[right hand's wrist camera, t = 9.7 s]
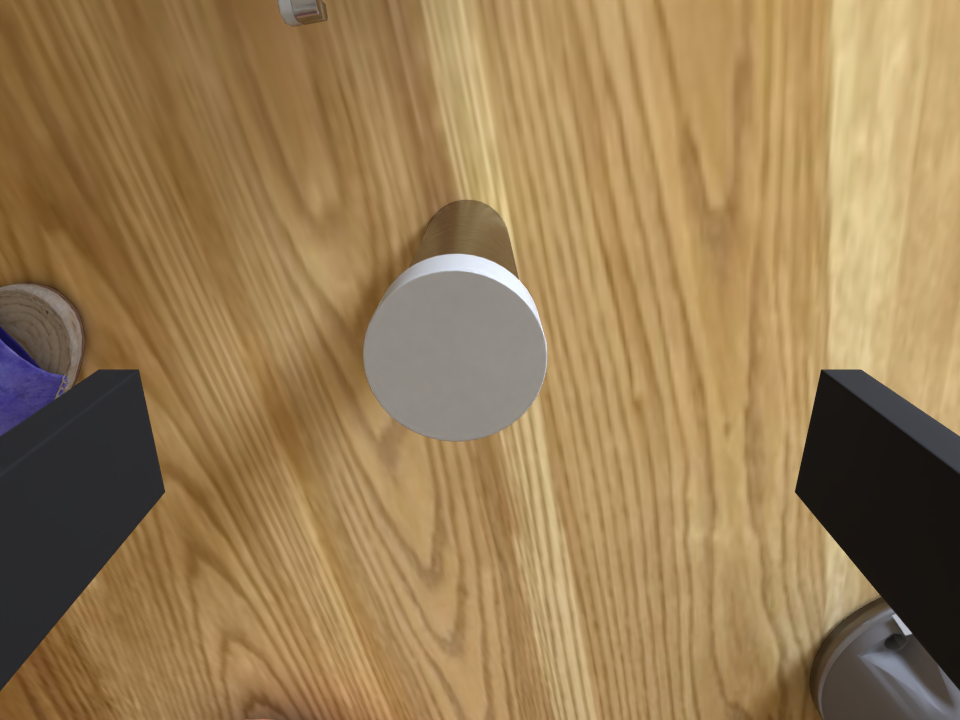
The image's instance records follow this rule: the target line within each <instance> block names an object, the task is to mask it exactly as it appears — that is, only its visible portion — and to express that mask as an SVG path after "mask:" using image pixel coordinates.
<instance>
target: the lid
mask: <svg viewBox="0 0 960 720" xmlns="http://www.w3.org/2000/svg"><path fill="white" fill-rule="evenodd" d="M363 362H364V369H365V373H366V378H367V380H368V383H369V386H370V388H371V390H372V392H373V394H374V396H375V397H376V399H377V400H378V402H379V403H380V404H381V406H382V407H383V408H384V409H385V410H386V412H387V413H388V414H389V415H390V416H391V417H393V418H394V419H395V420H396V421H397V422H399V423H400V424H402V425H403V426H405V427H406V428H408V429H410V430H412V431H414V432H416V433H418V434H420V435H423V436H426V437H429V438H433V439H438V440H444V441H468V440H476V439H479V438H483V437H487V436H489V435H492V434H495V433H497V432H499V431H501V430H503V429H505V428H506V427H508V426H509V425H511V424H512V423H514V422H515V421H516V420H517V419H518V418H520V417H521V416H522V415H523V414H524V413H525V412H526V411H527V409H528V408H529V407H530V406H531V405H532V403H533V401H534V400H535V398H536V397H537V395H538V393H539V391H540V389H541V386H542V384H543V381H544V377H545V373H546V367H547V346H546V340H545V336H544V332H543V329H542V325H541V322H540V318H539V315H538V311H537V308H536V306H535V303H534V301H533V299H532V297H531V296H530V294H529V292H528V291H527V289H526V288H525V287H524V285H523V284H522V283H521V282H520V281H519V280H518V279H517V278H516V277H515V276H514V275H513V274H512V273H511V272H509V271H508V270H506V269H505V268H504V267H502V266H500V265H498V264H496V263H495V262H493V261H490V260H487V259H485V258H482V257H478V256H474V255H467V254H446V255H439V256H435V257H432V258H428V259H425V260H423V261H421V262H419V263H416V264H415V265H413V266H411V267H410V268H408V269H407V270H405V271H404V272H403V273H402V274H401V275H399V276H398V277H397V278H396V279H395V280H394V282H393V283H392V284H391V285H390V286H389V288H388V289H387V291H386V292H385V294H384V296H383V298H382V299H381V301H380V303H379V305H378V307H377V309H376V311H375V313H374V315H373V317H372V318H371V320H370V322H369V325H368V328H367V331H366V334H365V339H364V345H363Z"/></svg>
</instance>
